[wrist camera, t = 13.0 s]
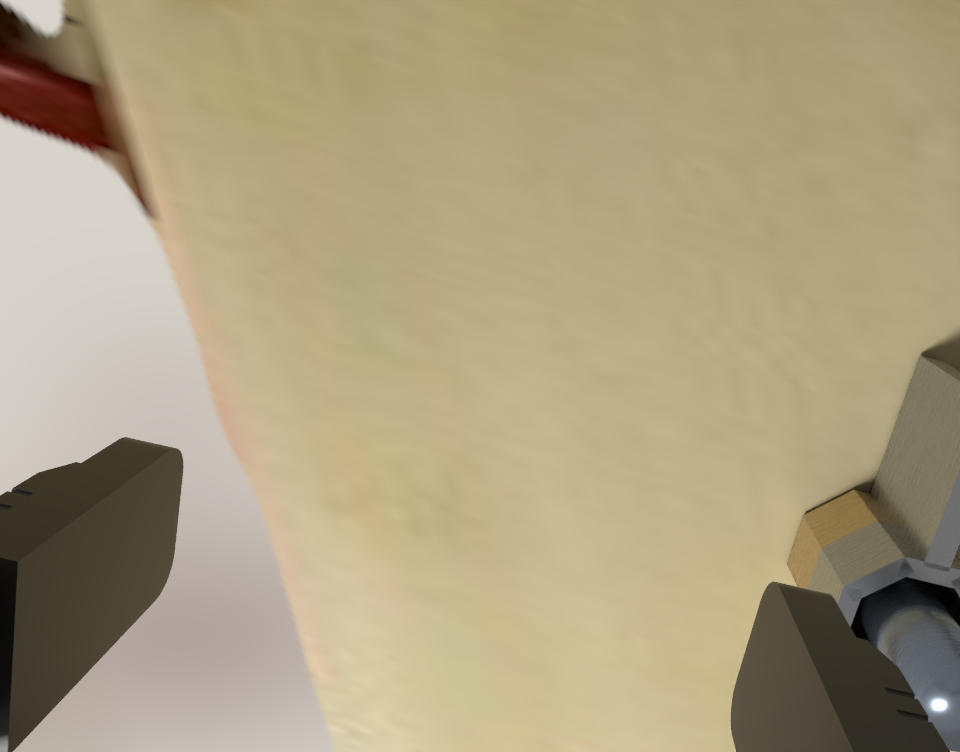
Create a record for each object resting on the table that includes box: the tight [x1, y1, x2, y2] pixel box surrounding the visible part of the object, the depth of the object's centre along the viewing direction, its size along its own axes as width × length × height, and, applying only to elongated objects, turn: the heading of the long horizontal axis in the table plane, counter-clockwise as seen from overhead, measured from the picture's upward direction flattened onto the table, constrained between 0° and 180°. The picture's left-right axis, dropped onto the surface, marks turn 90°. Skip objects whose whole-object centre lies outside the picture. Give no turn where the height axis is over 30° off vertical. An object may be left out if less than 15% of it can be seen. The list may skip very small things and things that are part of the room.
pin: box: [855, 577, 960, 752], centre depth 37 cm, size 3×3×12 cm
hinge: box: [787, 356, 960, 644], centre depth 39 cm, size 20×6×7 cm, turn 168°
